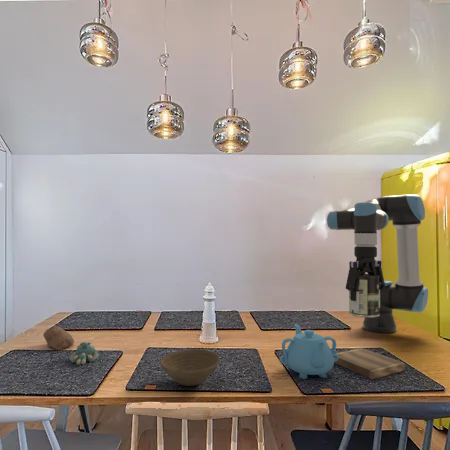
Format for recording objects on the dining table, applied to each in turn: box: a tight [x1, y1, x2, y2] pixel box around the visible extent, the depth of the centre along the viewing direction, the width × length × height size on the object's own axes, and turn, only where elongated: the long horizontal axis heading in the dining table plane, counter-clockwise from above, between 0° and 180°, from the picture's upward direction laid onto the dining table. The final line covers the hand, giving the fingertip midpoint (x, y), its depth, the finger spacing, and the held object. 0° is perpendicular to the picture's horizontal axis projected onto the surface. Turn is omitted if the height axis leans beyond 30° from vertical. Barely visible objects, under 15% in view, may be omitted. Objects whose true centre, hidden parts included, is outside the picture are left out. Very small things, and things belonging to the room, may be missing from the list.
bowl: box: [159, 349, 220, 387], centre depth 112 cm, size 18×18×8 cm
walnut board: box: [333, 347, 406, 380], centre depth 127 cm, size 16×18×2 cm
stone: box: [42, 325, 75, 351], centre depth 148 cm, size 12×9×10 cm
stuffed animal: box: [68, 341, 100, 366], centre depth 132 cm, size 11×7×12 cm
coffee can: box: [348, 273, 380, 318], centre depth 129 cm, size 10×10×14 cm
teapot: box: [279, 323, 338, 380], centre depth 121 cm, size 16×20×14 cm
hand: (365, 308), depth 128 cm, fingers closed on coffee can, 10 cm apart
